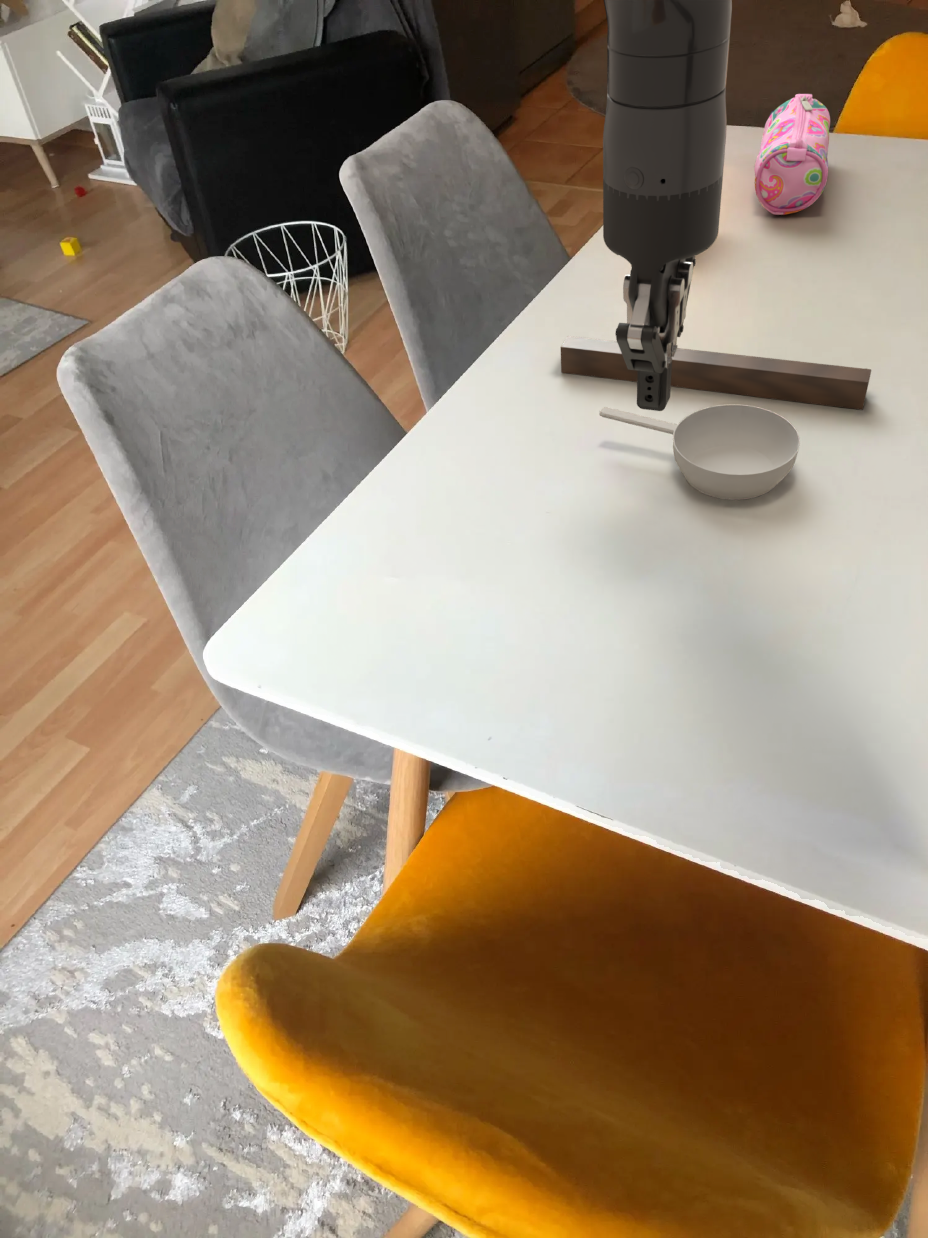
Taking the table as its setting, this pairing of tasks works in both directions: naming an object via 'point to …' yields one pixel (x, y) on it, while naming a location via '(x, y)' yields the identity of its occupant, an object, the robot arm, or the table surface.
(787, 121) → the pencil case
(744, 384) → the walnut rail
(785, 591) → the table surface
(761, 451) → the saucepan
